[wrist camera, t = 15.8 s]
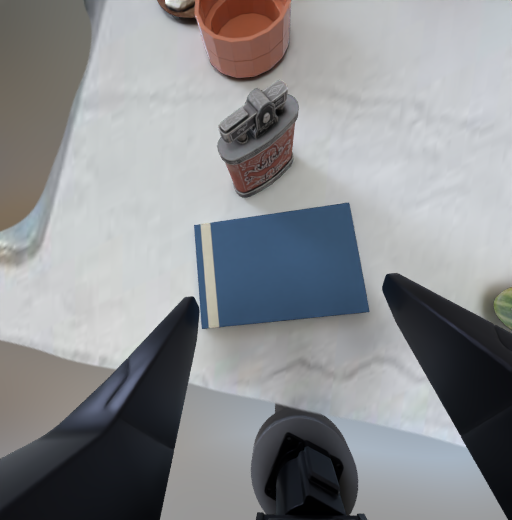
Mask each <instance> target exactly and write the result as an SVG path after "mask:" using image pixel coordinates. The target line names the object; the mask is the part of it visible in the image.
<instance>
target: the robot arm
mask: <svg viewBox="0 0 512 520" xmlns="http://www.w3.org/2000/svg"><path fill="white" fill-rule="evenodd" d="M382 290H383V293H384V296H385V298H386V300H387V303H388V305H389V307H390V310H391V312H392V314H393V317H394V319H395V321H396V323H397V325H398V327H399V329H400V330H401V332H402V334H403V336H404V337H405V339H406V341H407V343H408V344H409V346H410V348H411V350H412V351H413V353H414V355H415V357H416V358H417V360H418V362H419V364H420V365H421V367H422V369H423V371H424V372H425V374H426V376H427V378H428V379H429V381H430V383H431V385H432V386H433V388H434V390H435V392H436V394H437V395H438V397H439V399H440V401H441V402H442V404H443V406H444V408H445V409H446V411H447V413H448V415H449V416H450V418H451V420H452V422H453V423H454V425H455V427H456V429H457V430H458V432H459V434H460V435H461V438H462V440H463V441H464V443H465V445H466V447H467V448H468V450H469V452H470V454H471V455H472V457H473V459H474V461H475V462H476V464H477V466H478V468H479V469H480V471H481V473H482V475H483V476H484V478H485V480H486V482H487V483H488V485H489V487H490V489H491V490H492V492H493V494H494V496H495V497H496V499H497V501H498V503H499V505H500V506H501V508H502V510H503V512H504V513H505V515H506V517H507V518H508V520H512V333H510V332H508V331H506V330H504V329H502V328H500V327H498V326H497V325H494V324H493V323H491V322H489V321H487V320H485V319H483V318H481V317H479V316H478V315H476V314H474V313H472V312H470V311H468V310H466V309H464V308H462V307H461V306H459V305H457V304H455V303H453V302H451V301H449V300H447V299H445V298H443V297H442V296H440V295H438V294H436V293H434V292H432V291H430V290H428V289H426V288H425V287H423V286H421V285H419V284H417V283H415V282H413V281H411V280H409V279H408V278H406V277H404V276H402V275H400V274H398V273H391V274H387V275H386V276H385V280H384V283H383V286H382ZM198 322H199V306H198V304H197V302H196V300H195V298H194V297H192V296H191V297H185V298H184V299H183V300H182V301H181V302H180V303H179V304H178V305H177V306H176V307H175V308H174V309H173V310H172V311H171V312H170V313H169V314H168V316H167V317H166V318H165V319H164V320H163V321H162V322H161V323H160V324H159V325H158V326H157V327H156V328H155V329H154V330H153V331H152V333H151V334H150V335H149V336H148V337H147V338H146V339H145V340H144V341H143V342H142V343H141V344H140V345H139V346H138V347H137V348H136V350H135V351H134V352H133V353H132V354H131V355H130V356H129V357H128V359H126V360H125V361H124V362H123V363H122V364H121V365H120V366H119V367H118V369H117V370H116V371H115V372H114V373H113V374H112V375H111V376H110V377H109V378H108V379H107V380H106V381H105V382H104V383H103V384H102V385H101V386H99V387H98V388H97V389H96V390H95V391H94V392H93V393H92V394H91V395H90V396H89V397H88V398H87V399H86V400H85V401H84V402H82V403H81V404H80V405H79V406H78V407H77V408H76V409H75V410H74V411H73V412H72V413H71V414H70V415H69V416H68V417H66V418H65V419H64V420H63V421H62V422H61V423H60V424H59V425H58V426H56V427H55V428H54V429H52V430H51V431H50V432H48V433H47V434H45V435H44V436H42V437H41V438H39V439H37V440H35V441H33V442H32V443H30V444H28V445H26V446H24V447H22V448H20V449H18V450H16V451H14V452H12V453H10V454H9V455H7V456H5V457H3V458H1V459H0V520H160V516H161V511H162V507H163V502H164V496H165V492H166V487H167V482H168V477H169V473H170V468H171V463H172V458H173V453H174V448H175V443H176V439H177V433H178V429H179V424H180V419H181V414H182V410H183V405H184V400H185V395H186V390H187V386H188V381H189V376H190V371H191V366H192V362H193V357H194V352H195V347H196V342H197V333H198ZM288 437H290V438H291V439H290V440H288V439H287V438H288ZM337 464H340V466H336V465H337ZM343 469H344V466H343V463H342V461H341V460H340V459H339V458H337V457H335V456H333V455H331V454H329V452H328V451H327V450H325V449H323V448H321V447H319V446H317V445H315V444H314V443H312V442H310V441H308V440H303V439H301V438H300V437H298V436H296V435H294V434H292V433H290V432H287V433H286V434H285V435H284V438H283V440H282V443H281V446H280V448H279V451H278V453H277V456H276V458H275V461H274V463H273V466H272V468H271V471H270V474H269V476H268V479H267V481H266V484H265V489H264V491H265V494H266V495H267V496H268V497H270V498H271V499H273V500H275V501H276V515H268V514H264V513H260V512H258V513H257V517H256V520H367V518H366V516H365V515H364V514H357V516H347V515H346V512H345V509H344V506H343V502H342V499H341V496H340V486H339V480H340V478H341V475H342V472H343ZM268 489H271V490H268Z"/></svg>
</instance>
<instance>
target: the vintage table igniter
mask: <svg viewBox="0 0 512 520" xmlns="http://www.w3.org/2000/svg"><path fill="white" fill-rule="evenodd" d="M298 110H299V105H298V102H297V100H296V99H295V98H294V97H293V96H291V95H289V94H287V85H286V83H285V82H284V81H282V80H277V81H276V82H274V83H273V84H271V85H270V86H269V87H267V88H266V89H265V90H263V91H262V90H260V89H258V88H256V89H254V90H253V91H251V92H250V94H249V95H248V97H247V101H246V102H245V105H243V106H242V107H240V108H239V109H238V110H236V111H235V112H234V113H232V114H231V115H230V116H228V117H227V118H226V119H224V120H223V121H222V122H221V123H220V124H219V126H218V129H219V131H220V134H221V138H220V139H219V141H218V145H217V147H218V152H219V154H220V156H221V158H222V160H223V161H224V162H225V163H226V166H227V168H228V170H229V173H230V175H231V177H232V180H233V185H234V188H235V191H236V192H237V194H238V195H239V196H241V197H250V196H252V195H254V194H256V193H258V192H260V191H261V190H263V189H264V188H266V187H267V186H269V185H271V184H272V183H273V182H274V181H276V180H277V179H278V178H279V177H280V176H281V175H282V174H283V173H284V172H285V171H286V170H287V169H288V168H289V167H290V166H291V164H292V160H293V153H292V146H293V137H294V127H295V121H296V120H297V117H298Z"/></svg>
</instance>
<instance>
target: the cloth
mask: <svg viewBox="0 0 512 520" xmlns="http://www.w3.org/2000/svg"><path fill="white" fill-rule="evenodd" d="M194 230H195V243H196V256H197V269H198V283H199V296H200V309H201V322H202V329H206V328H217V327H226V326H236V325H245V324H255V323H265V322H275V321H285V320H295V319H304V318H314V317H324V316H334V315H344V314H354V313H363V312H369V306H368V301H367V295H366V290H365V285H364V279H363V274H362V269H361V263H360V258H359V253H358V247H357V242H356V236H355V231H354V226H353V220H352V215H351V210H350V204H349V203H343V204H336V205H329V206H322V207H315V208H309V209H302V210H295V211H288V212H281V213H274V214H268V215H261V216H254V217H247V218H240V219H233V220H227V221H220V222H213V223H205V224H199V225H194Z"/></svg>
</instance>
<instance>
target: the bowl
mask: <svg viewBox="0 0 512 520" xmlns="http://www.w3.org/2000/svg"><path fill="white" fill-rule="evenodd" d="M194 14H195V17H196V21H197V24H198V27H199V30H200V34H201V37H202V40H203V44H204V47H205V50H206V53H207V55H208V58H209V60H210V62H211V64H212V65H213V66H214V67H215V68H216V69H218V70H219V71H220V72H221V73H223V74H225V75H229V76H232V77H236V78H244V77H254V76H257V75H259V74H261V73H264V72H266V71H268V70H270V69H271V68H272V67H273V66H274V65H275V64H276V63H277V62H278V61H279V60H280V59H281V58H282V57H283V55H284V53H285V51H286V49H287V47H288V44H289V34H290V14H291V0H195V13H194Z"/></svg>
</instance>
